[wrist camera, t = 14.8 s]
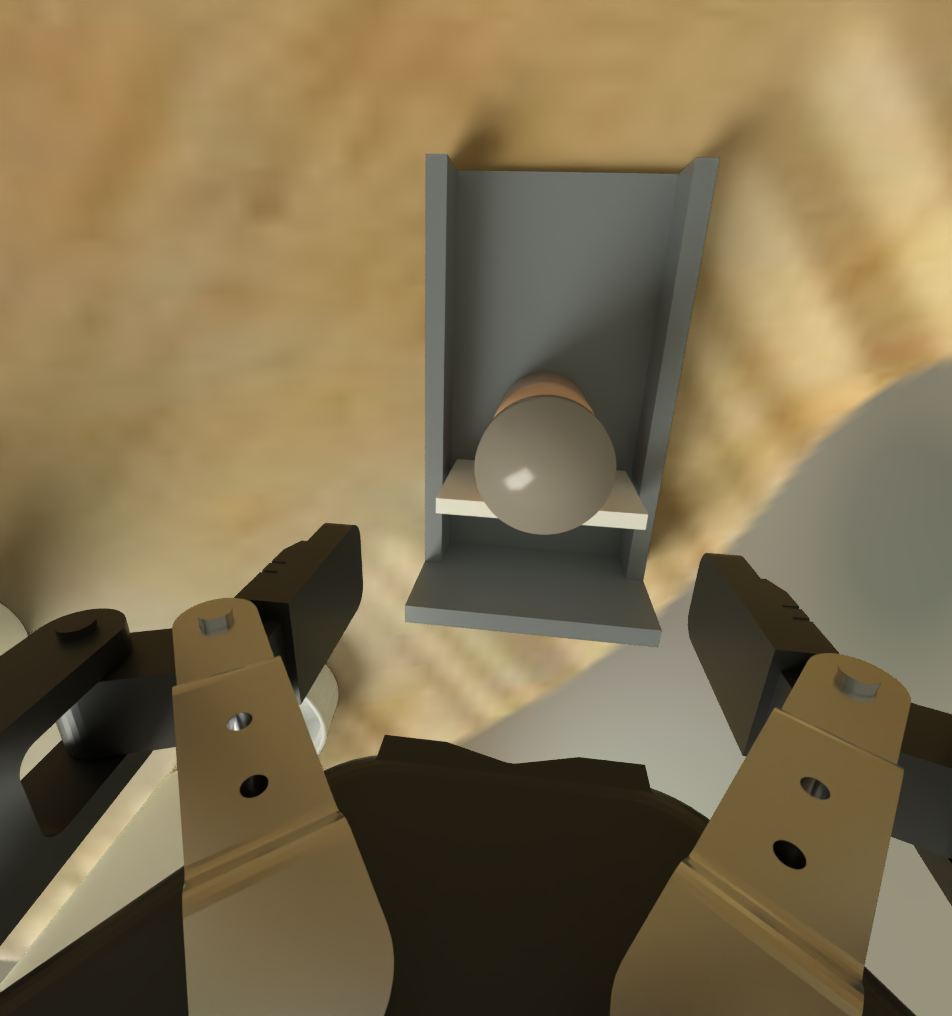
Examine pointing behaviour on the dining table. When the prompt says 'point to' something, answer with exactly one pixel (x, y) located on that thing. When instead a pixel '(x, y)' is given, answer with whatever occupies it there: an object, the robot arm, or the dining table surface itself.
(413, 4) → the dining table surface
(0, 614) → the cylindrical container
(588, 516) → the jar
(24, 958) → the alcohol
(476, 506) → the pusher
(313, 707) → the ramekin
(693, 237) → the lane
